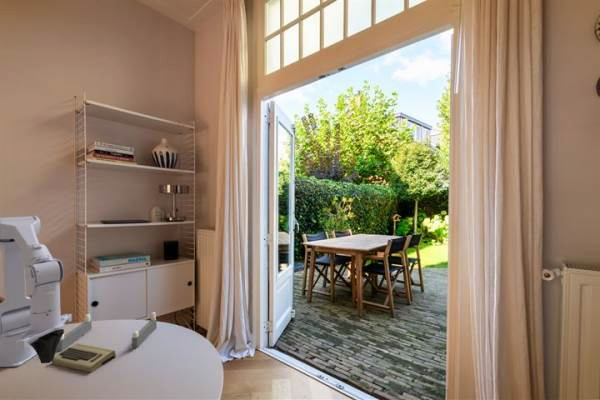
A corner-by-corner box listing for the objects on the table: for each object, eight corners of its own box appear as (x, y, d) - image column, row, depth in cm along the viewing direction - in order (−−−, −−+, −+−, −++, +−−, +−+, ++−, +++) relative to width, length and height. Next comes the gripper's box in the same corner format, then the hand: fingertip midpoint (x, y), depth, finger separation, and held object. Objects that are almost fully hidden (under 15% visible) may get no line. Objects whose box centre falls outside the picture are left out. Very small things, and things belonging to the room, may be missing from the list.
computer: (50, 365, 84) (50, 354, 84) (78, 351, 92) (78, 341, 91) (90, 375, 79) (89, 363, 79) (116, 358, 87) (116, 348, 87)
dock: (56, 351, 91) (56, 332, 91) (87, 329, 105) (86, 314, 105) (137, 348, 92) (136, 330, 92) (156, 327, 106) (156, 312, 106)
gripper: (37, 321, 65) (38, 379, 65) (82, 298, 79) (83, 345, 80) (4, 322, 64) (6, 380, 65) (56, 298, 79) (57, 346, 79)
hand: (47, 361), depth 72 cm, fingers closed
